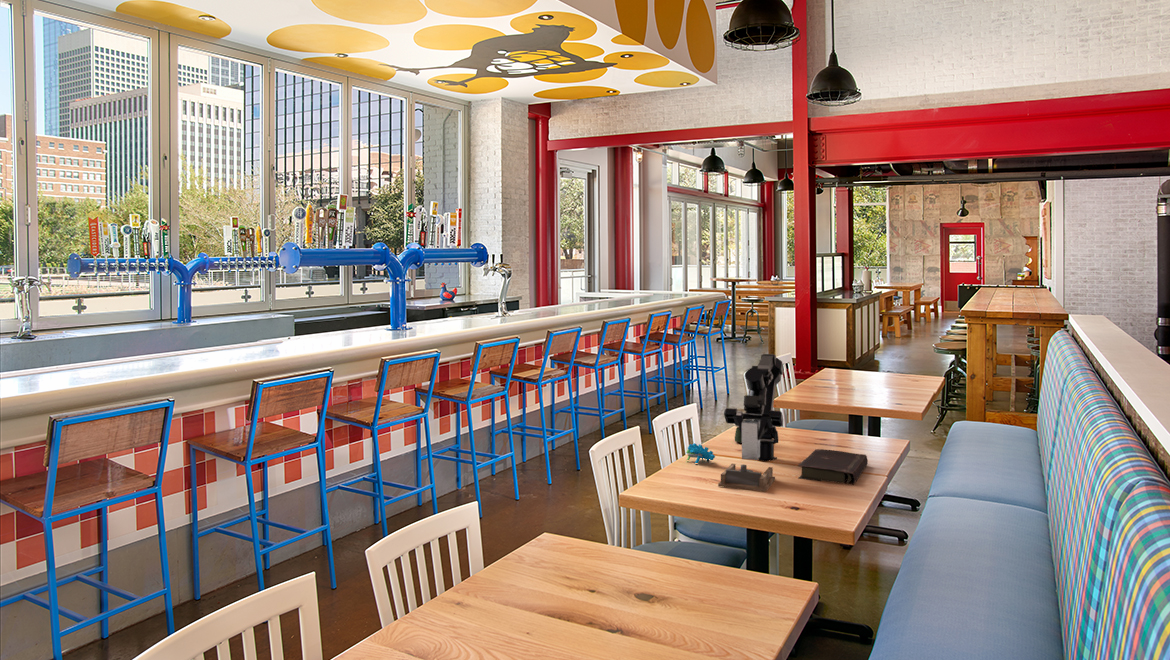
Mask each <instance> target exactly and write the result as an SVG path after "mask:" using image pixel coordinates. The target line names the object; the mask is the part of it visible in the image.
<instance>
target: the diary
mask: <svg viewBox="0 0 1170 660" xmlns="http://www.w3.org/2000/svg"><path fill="white" fill-rule="evenodd" d="M868 461H869V460H868V455H867V454H865V453H864V454H863V453H855V452H854V453H853V452H848V451H842V450H834V449H833V450H832V449H822V448H817V449H814V450H813V451H812V452H811V453H810V454H809V455H808V456H807V457H806V458H805V459H803V460H802V461H801V462H800V463H799V464H798V465H797V466H798V467H801V475H800V476H798V478H797V479H798V480H799V479H800V480H807V481H817V482H832V483H838V482H839V483H840V484H845V482H846V481H847V482H846V484H850V482H851V481H852V480H853V482H852V486H854V485H855V484H856V482H857V480H858V478H859V477H860V476H861V475H862V473H863V471H864V470H865V469H866V468H867V466H868Z"/></svg>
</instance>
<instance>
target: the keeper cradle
mask: <svg viewBox="0 0 1170 660" xmlns="http://www.w3.org/2000/svg"><path fill="white" fill-rule="evenodd" d="M736 464H737V463H731V464H730V465H729V466H727V468H726V469H724V471H722V472H721V473H720V481H719V482H718V483H717V484H718V485H717V486H724V487H723V488H727V487H731V488H730V489H737V490H747V491H757V492H765V493H766V492H767V491H768V490H769V489H770V487H771V486H772V484H774V482H775V481H776V476H774V475H773V474H774V473H773V472H774V471H773V469H774V468H773V466H772V467H771V466H768V467H767V469H766V470H765V471H764V472H758V471H748V470H747V468H748V467H747V464H740V470H738V469H736V468H737V467H736V466H737V465H736Z"/></svg>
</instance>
